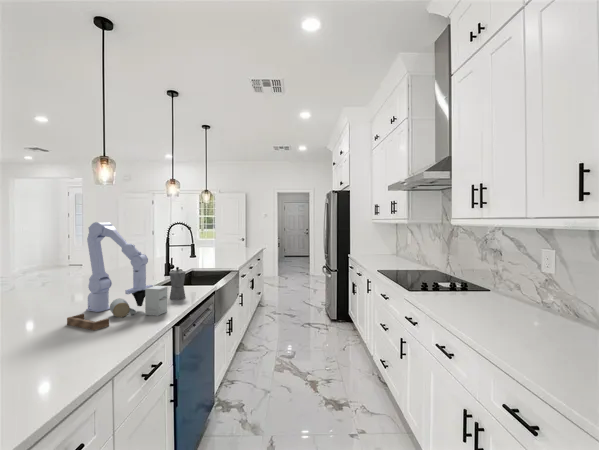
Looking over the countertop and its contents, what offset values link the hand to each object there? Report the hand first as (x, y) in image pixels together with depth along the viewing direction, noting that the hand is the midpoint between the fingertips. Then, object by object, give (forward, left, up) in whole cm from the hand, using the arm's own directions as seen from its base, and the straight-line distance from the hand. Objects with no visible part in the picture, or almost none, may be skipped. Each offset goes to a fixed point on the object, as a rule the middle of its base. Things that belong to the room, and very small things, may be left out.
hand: (139, 305), depth 164 cm
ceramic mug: (+1, -9, -2) cm, 10 cm away
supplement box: (+12, 0, -2) cm, 12 cm away
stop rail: (0, -26, -2) cm, 26 cm away
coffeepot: (-4, +29, -2) cm, 29 cm away
